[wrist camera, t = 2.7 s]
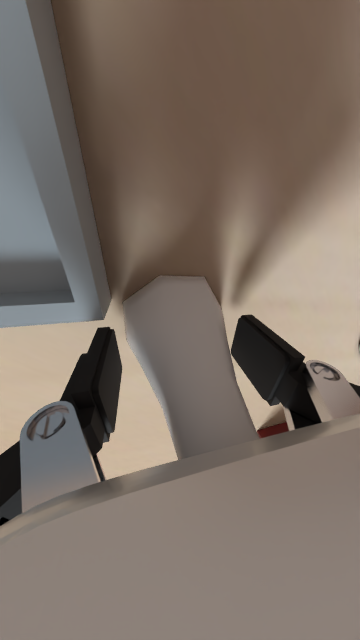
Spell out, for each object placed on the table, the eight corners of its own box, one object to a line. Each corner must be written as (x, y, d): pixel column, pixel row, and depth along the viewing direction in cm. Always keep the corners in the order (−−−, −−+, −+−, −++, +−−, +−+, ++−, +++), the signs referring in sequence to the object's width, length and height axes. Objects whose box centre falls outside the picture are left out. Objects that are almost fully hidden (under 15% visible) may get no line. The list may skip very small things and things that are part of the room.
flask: (102, 291, 10) (-157, 730, 1) (214, 257, 10) (591, 414, 2) (144, 369, 14) (150, 606, 5) (224, 342, 14) (353, 520, 5)
